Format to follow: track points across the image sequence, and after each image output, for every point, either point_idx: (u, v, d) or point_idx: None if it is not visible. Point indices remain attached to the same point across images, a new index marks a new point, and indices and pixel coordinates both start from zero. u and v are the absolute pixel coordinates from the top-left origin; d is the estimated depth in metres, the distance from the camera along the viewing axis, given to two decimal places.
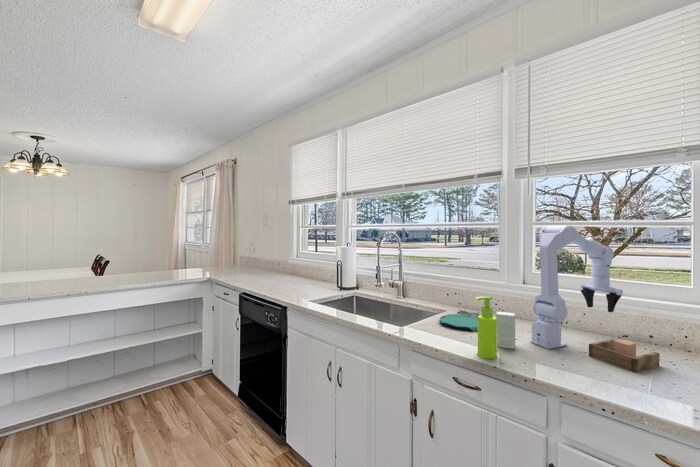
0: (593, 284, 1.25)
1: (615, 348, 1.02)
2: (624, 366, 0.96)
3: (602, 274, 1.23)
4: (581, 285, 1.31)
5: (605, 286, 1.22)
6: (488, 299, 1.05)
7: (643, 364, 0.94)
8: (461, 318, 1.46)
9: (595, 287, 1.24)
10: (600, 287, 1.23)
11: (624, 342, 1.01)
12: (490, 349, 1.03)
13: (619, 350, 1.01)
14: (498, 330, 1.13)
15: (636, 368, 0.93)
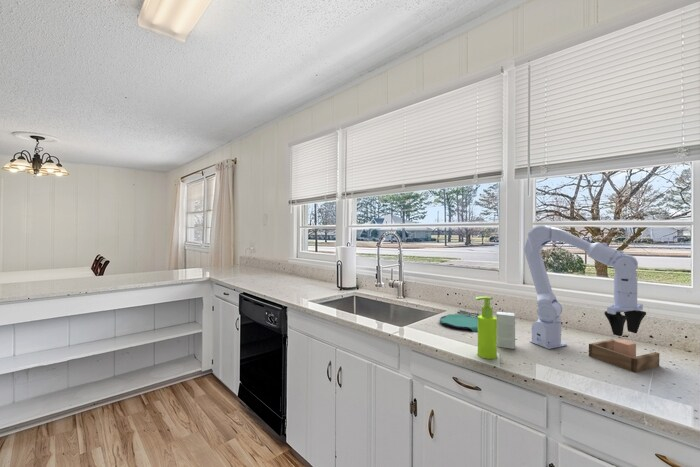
0: None
1: (615, 348, 1.02)
2: (624, 366, 0.96)
3: (616, 289, 1.01)
4: None
5: (615, 303, 1.01)
6: (488, 299, 1.05)
7: (643, 364, 0.94)
8: (461, 318, 1.46)
9: None
10: None
11: (624, 342, 1.01)
12: (490, 349, 1.03)
13: (619, 350, 1.01)
14: (498, 330, 1.13)
15: (636, 368, 0.93)
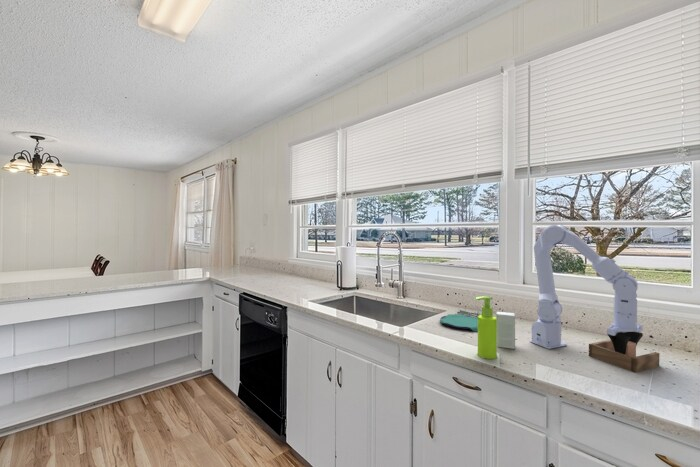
0: None
1: None
2: (624, 366, 0.96)
3: (616, 310, 1.01)
4: None
5: (615, 324, 1.02)
6: (488, 299, 1.05)
7: (643, 364, 0.94)
8: (461, 318, 1.46)
9: None
10: (613, 324, 1.03)
11: None
12: (490, 349, 1.03)
13: None
14: (498, 330, 1.13)
15: (636, 368, 0.93)
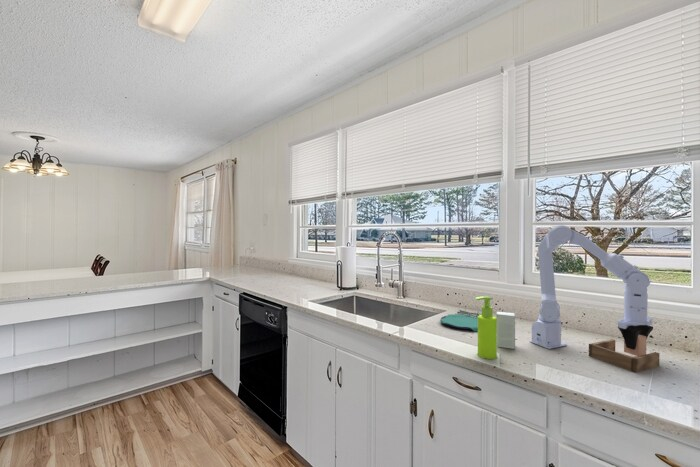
0: None
1: None
2: (624, 366, 0.96)
3: (628, 304, 1.02)
4: None
5: (626, 317, 1.03)
6: (488, 299, 1.05)
7: (643, 364, 0.94)
8: (462, 318, 1.46)
9: None
10: None
11: None
12: (490, 349, 1.03)
13: None
14: (498, 330, 1.13)
15: (636, 368, 0.93)
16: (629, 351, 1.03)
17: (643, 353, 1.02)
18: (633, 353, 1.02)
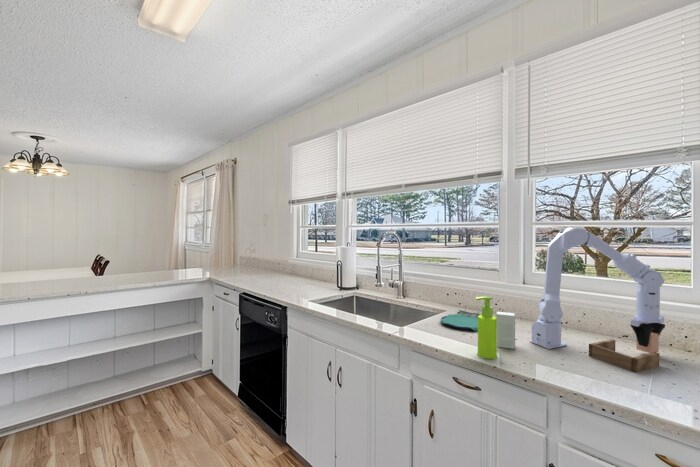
0: None
1: None
2: (624, 366, 0.96)
3: (643, 303, 1.04)
4: None
5: (638, 315, 1.06)
6: (488, 299, 1.05)
7: (643, 364, 0.94)
8: (462, 318, 1.46)
9: None
10: None
11: None
12: (490, 349, 1.03)
13: None
14: (498, 330, 1.13)
15: (636, 368, 0.93)
16: (641, 348, 1.05)
17: (656, 350, 1.04)
18: (646, 350, 1.04)
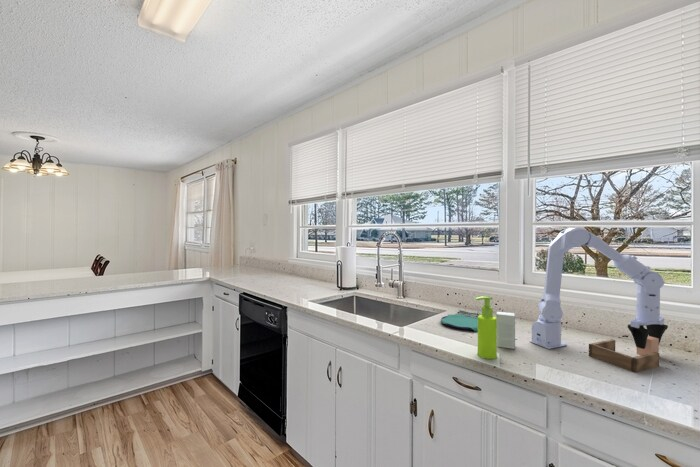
0: None
1: None
2: (624, 366, 0.96)
3: (643, 304, 1.04)
4: None
5: (638, 317, 1.06)
6: (488, 299, 1.05)
7: (643, 364, 0.94)
8: (462, 318, 1.46)
9: None
10: (636, 317, 1.07)
11: (647, 337, 1.05)
12: (490, 349, 1.03)
13: None
14: (498, 330, 1.13)
15: (636, 368, 0.93)
16: (642, 353, 1.05)
17: None
18: None
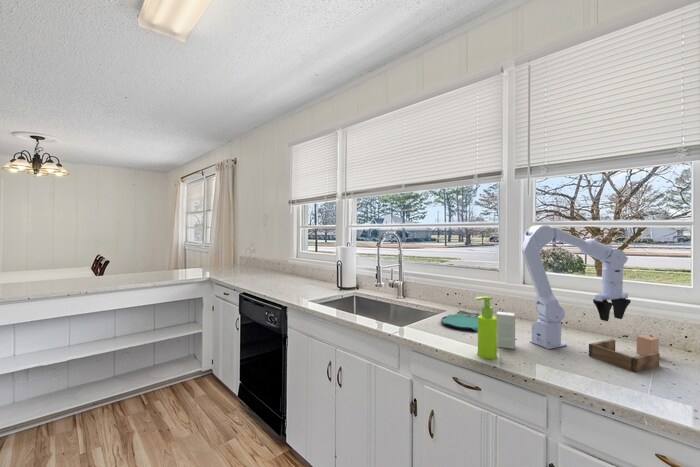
0: None
1: (638, 343, 1.06)
2: (624, 366, 0.96)
3: (609, 280, 1.11)
4: None
5: (603, 292, 1.13)
6: (488, 299, 1.05)
7: (643, 364, 0.94)
8: (462, 318, 1.45)
9: None
10: None
11: (647, 337, 1.05)
12: (490, 349, 1.03)
13: (642, 345, 1.05)
14: (498, 330, 1.13)
15: (636, 368, 0.93)
16: (642, 353, 1.05)
17: None
18: None
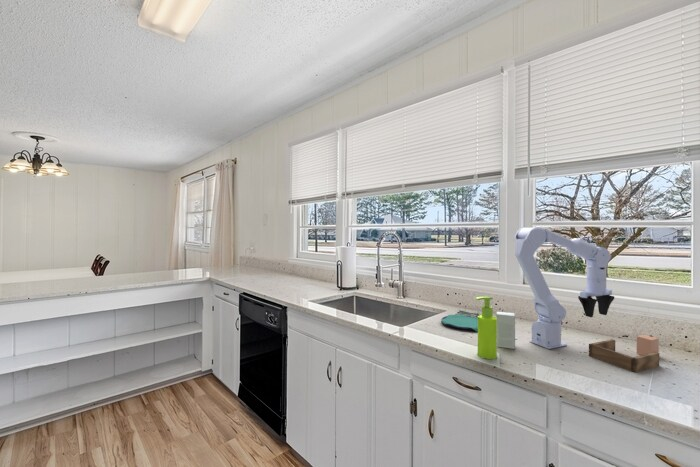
0: None
1: (638, 343, 1.06)
2: (624, 366, 0.96)
3: (595, 277, 1.14)
4: None
5: (588, 289, 1.16)
6: (488, 299, 1.05)
7: (643, 364, 0.94)
8: (462, 318, 1.45)
9: None
10: None
11: (647, 337, 1.05)
12: (490, 349, 1.03)
13: (642, 345, 1.05)
14: (498, 330, 1.13)
15: (636, 368, 0.93)
16: (642, 353, 1.05)
17: None
18: None
